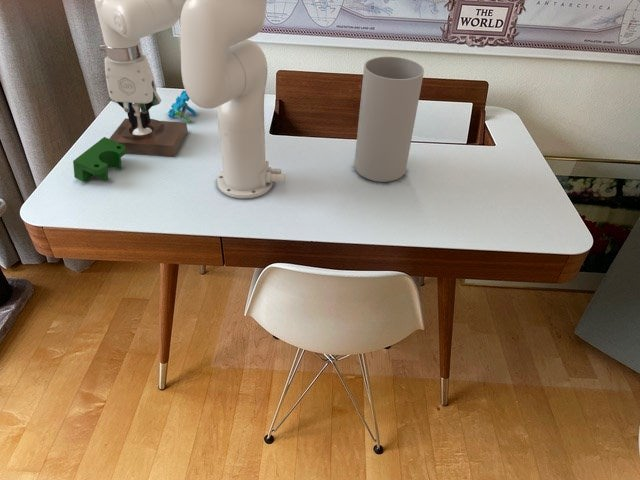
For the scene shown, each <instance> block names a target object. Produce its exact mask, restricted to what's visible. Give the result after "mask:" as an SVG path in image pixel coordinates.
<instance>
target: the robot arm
mask: <svg viewBox="0 0 640 480" xmlns="http://www.w3.org/2000/svg"><path fill="white" fill-rule="evenodd" d="M267 2H268V0H94V5H95V10H96V13H97V18H98V22H99V26H100V30H101V34H102V38H103V42H104V43H103V44H102V43H101V44H100V45H99V49H100V51H101V52H102V51H103V52H105V54H106V56H104V73H105V79H106V87H107V92H108V100H109V101H110V102H113V103H115V104H117V105H118V106H120V107H121V108H122V109H123V111H124V112H125V113H126V114H127V119H129V122H130V123H131V126H132V128H135V127H136V126H137V116H134V113H135V110H134V108H133V107H132V104H134V103H140V112H141V113H140V118H141V122H142V127H143V128H145V129H146V128H147V126H148V125H149V124H150V122H151V120H150V119H151V116H150V115H151V114H150V109H151V108H152V107H155V106H158V105H160V104H161V102H162V99H161V97H160V95H159V94H158V92H157V87H156V86H157V85H156V81H155V77H154V74H153V71H152V68H151V64H150V62H149V60H148V57H147V55H145V54H144V52H143V47H142V42H141V39H143V38H145V37H148V36H151V35H153V34H156V33H159V32H162V31H166V30H169V29H171V28H173V27H174V26H175V25H176V24H177V23H178V21H179V33H180V34H179V36H180V37H179V38H180V72H181V80H182V85H183V88H184V91H186V93H187V95H188V97H189V98H190V99H189V100H190V101H191V102H192V103H193V104H194V105H195V106H197V107H199V108H202V109H206V110H207V109H208V110H211V109H217V111H216V112H217V126H218V135H219V144H220V155H221V164H222V170H221V172H220V173H219V174H218V176H217V178H216V181H217V188H218V189H219V191H220V192H221V193H222V194H224V195H226V196H229V197H231V198H234V199H252V198H257V197H260V196H263V195H264V194H267V193H268V192H269V191H270V190H271V189H272V187H273V185H274V182H275V183H283V184H285V183H286V173H282V168H272V167H270V163H269V162H270V161H269V160H266V136H265V134H266V133H265V132H266V131H265V92H266V86H267V79H268V61H267V57H266V55H265V53H264V51H263V49H262V48H261V47H260V46H259V45H258V43H256V42H254V40H253V41H252V40H251V38H253V37H254V36H256V35H258V34H259V33H260V32H261V31H262V29H263V27H264V25H265V21H266V13H267ZM179 19H180V20H179Z"/></svg>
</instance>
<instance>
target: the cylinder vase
mask: <svg viewBox="0 0 640 480" xmlns="http://www.w3.org/2000/svg"><path fill="white" fill-rule="evenodd" d="M424 69H425V68H424V67H423V66H422V65H421V64H420V63H418V62H416V61H414V60H411V59H408V58H406V57H399V56H377V57H373V58H370V59H368V60H367V61H365V63H364V64H363V75H362V82H361V83H362V84H361V93H360V94H361V95H360V102H359V103H360V104H359V113H358V123H357V133H356V143H355V153H354V161H353V162H354V164H353V166H354V169H355V171H356V172H357V173H358V174H359V176H361V177H363V178H365V179H367V180H369V181H373V182H378V183H389V182H393V181H394V182H395V181H397V180H399V179H401V178H402V177H403V176H404V174H405V173H406V170H407V166H408V160H409V155H410V149H411V143H412V139H413V133H414V128H415V122H416V117H417V113H418V105H419V102H420V101H419V100H420V97H421V95H420V94H421V89H422V84H423V79H424V73H425V70H424Z"/></svg>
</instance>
